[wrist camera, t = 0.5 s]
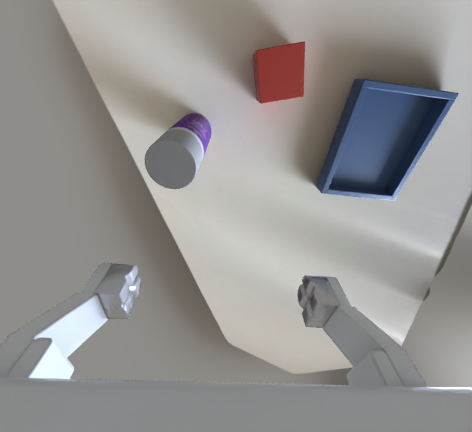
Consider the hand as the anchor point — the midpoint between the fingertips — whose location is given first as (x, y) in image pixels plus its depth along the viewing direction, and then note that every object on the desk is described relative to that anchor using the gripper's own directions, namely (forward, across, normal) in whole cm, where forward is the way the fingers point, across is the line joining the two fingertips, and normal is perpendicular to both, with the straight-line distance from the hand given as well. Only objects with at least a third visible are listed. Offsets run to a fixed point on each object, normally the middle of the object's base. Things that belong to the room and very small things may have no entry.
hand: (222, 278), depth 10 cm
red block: (+26, -5, -9) cm, 28 cm away
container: (+26, +5, -1) cm, 26 cm away
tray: (+26, -22, -2) cm, 34 cm away
